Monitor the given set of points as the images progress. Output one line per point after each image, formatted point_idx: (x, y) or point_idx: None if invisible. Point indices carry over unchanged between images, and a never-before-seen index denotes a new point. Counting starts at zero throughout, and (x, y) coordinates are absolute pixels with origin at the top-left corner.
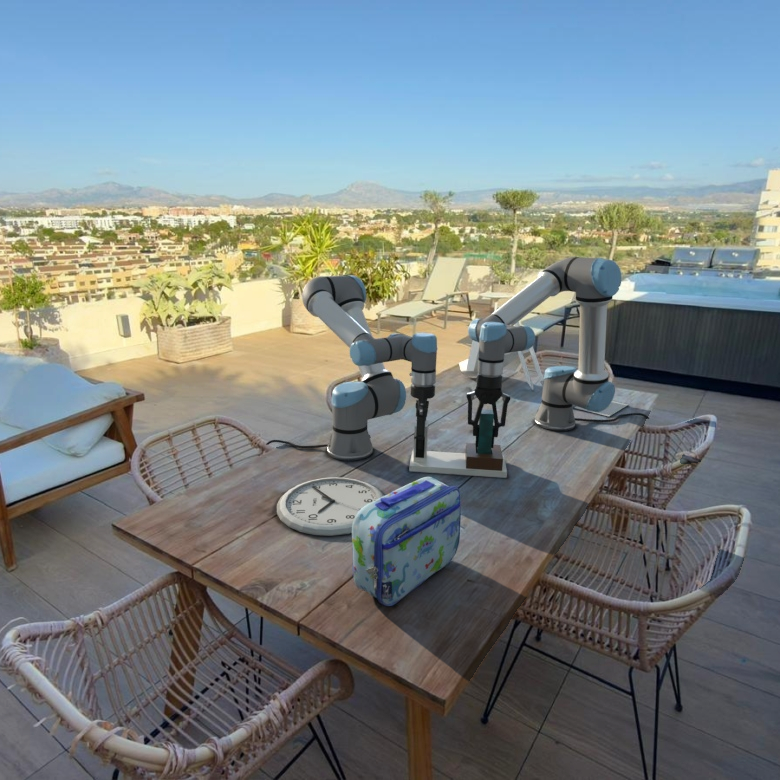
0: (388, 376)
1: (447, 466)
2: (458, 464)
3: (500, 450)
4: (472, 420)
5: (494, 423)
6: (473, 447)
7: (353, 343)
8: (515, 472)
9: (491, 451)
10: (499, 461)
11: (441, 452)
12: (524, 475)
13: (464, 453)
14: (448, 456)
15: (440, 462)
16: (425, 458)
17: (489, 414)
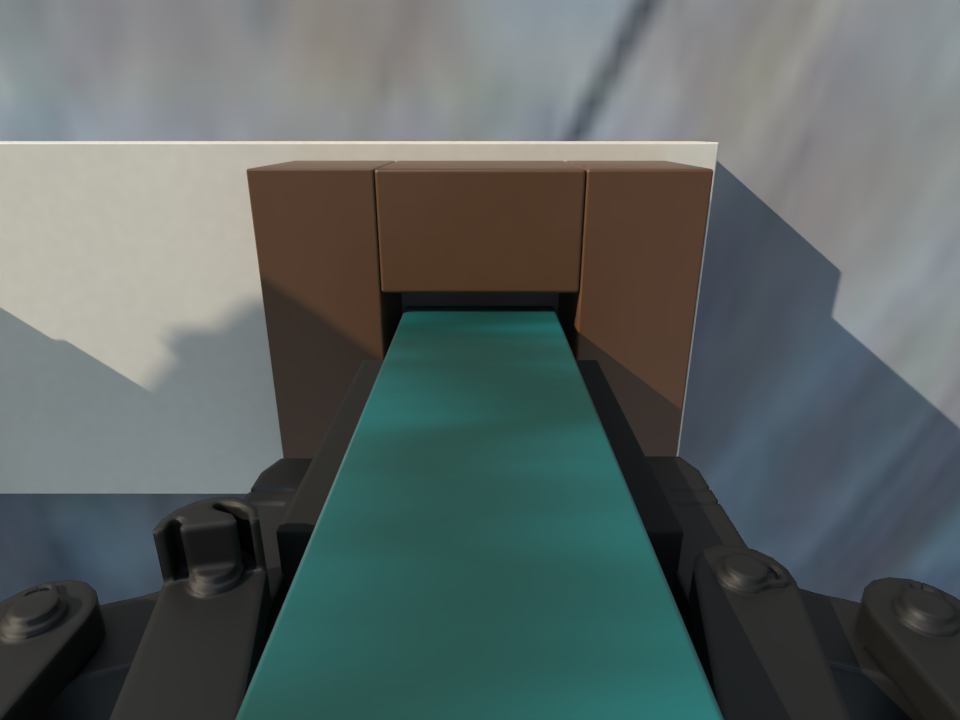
0: None
1: (165, 467)
2: (253, 417)
3: (679, 353)
4: (113, 699)
5: (693, 620)
6: (353, 315)
7: None
8: (755, 360)
9: (572, 322)
10: None
11: (29, 163)
12: (816, 402)
13: (283, 147)
14: (127, 257)
15: (85, 400)
16: None
17: None
